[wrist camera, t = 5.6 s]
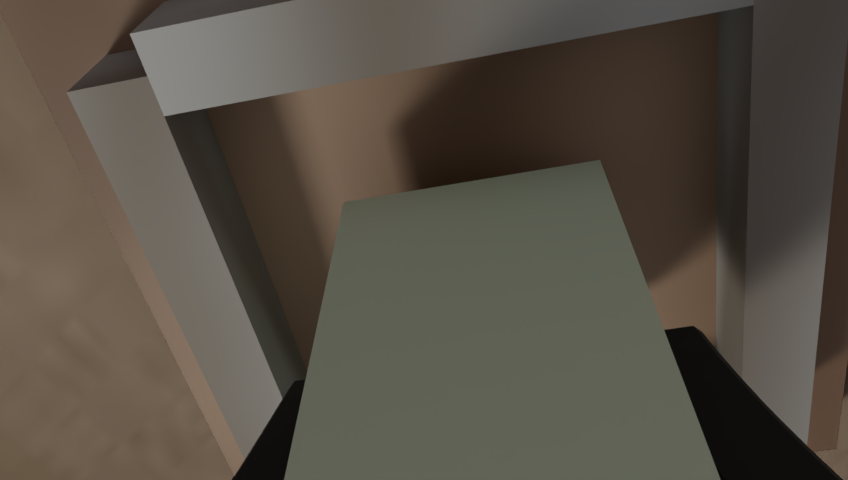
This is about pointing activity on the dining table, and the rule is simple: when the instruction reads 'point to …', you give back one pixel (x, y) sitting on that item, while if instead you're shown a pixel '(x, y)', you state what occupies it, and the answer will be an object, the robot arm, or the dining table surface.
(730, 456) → the robot arm
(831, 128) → the socket plate
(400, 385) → the peg
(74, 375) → the dining table surface
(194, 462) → the dining table surface
